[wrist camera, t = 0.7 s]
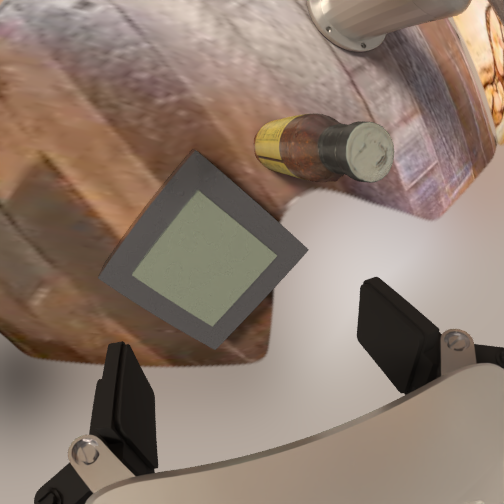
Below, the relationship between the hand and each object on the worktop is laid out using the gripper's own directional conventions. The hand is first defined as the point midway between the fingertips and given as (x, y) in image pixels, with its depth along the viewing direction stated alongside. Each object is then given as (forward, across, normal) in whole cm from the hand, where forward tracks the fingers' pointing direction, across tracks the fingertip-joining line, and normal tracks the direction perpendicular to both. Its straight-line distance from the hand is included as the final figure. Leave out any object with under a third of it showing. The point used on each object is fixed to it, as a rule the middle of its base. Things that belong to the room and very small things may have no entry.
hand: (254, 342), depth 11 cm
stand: (+27, +1, +7) cm, 28 cm away
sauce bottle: (+27, -10, -4) cm, 30 cm away
